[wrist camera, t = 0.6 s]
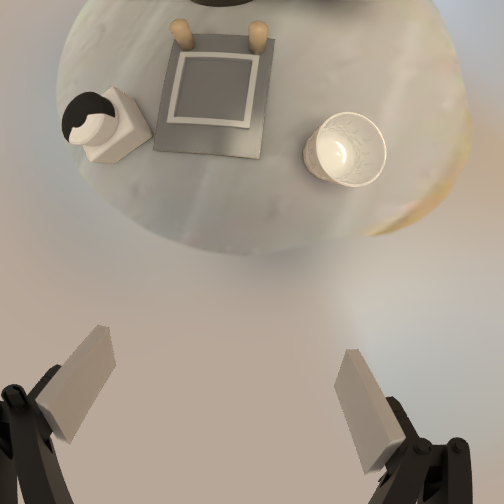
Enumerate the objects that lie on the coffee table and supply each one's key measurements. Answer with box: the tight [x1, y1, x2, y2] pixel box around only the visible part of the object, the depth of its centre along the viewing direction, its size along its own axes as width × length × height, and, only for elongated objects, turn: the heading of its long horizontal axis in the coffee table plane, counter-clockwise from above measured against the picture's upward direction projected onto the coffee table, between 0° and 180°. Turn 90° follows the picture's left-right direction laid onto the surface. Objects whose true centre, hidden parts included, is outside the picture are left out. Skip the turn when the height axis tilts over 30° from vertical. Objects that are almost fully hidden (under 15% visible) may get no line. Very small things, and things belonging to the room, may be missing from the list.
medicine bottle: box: [62, 87, 153, 164], centre depth 28 cm, size 7×7×12 cm
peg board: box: [153, 19, 275, 160], centre depth 29 cm, size 18×14×7 cm
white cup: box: [303, 112, 386, 187], centre depth 30 cm, size 8×8×10 cm
